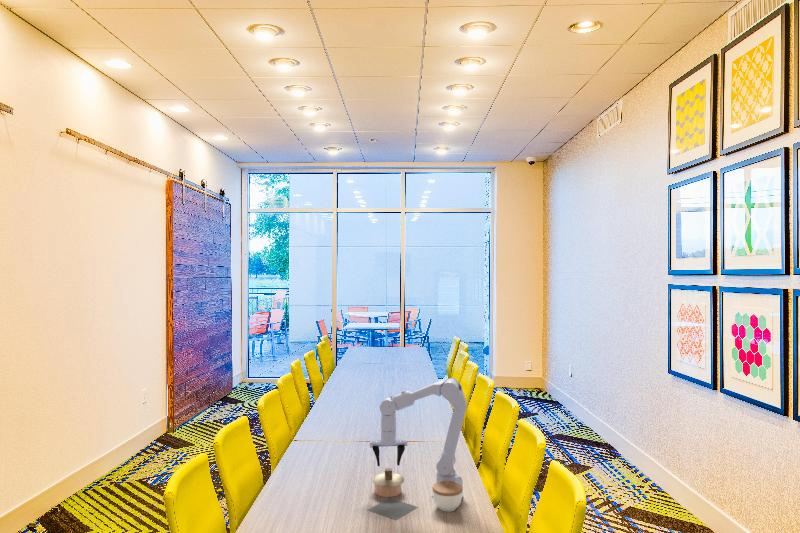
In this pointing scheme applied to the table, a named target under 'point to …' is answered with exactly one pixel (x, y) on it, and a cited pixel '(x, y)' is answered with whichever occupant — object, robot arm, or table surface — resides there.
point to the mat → (392, 508)
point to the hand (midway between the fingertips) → (388, 465)
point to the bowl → (388, 490)
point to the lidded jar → (447, 495)
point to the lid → (388, 479)
